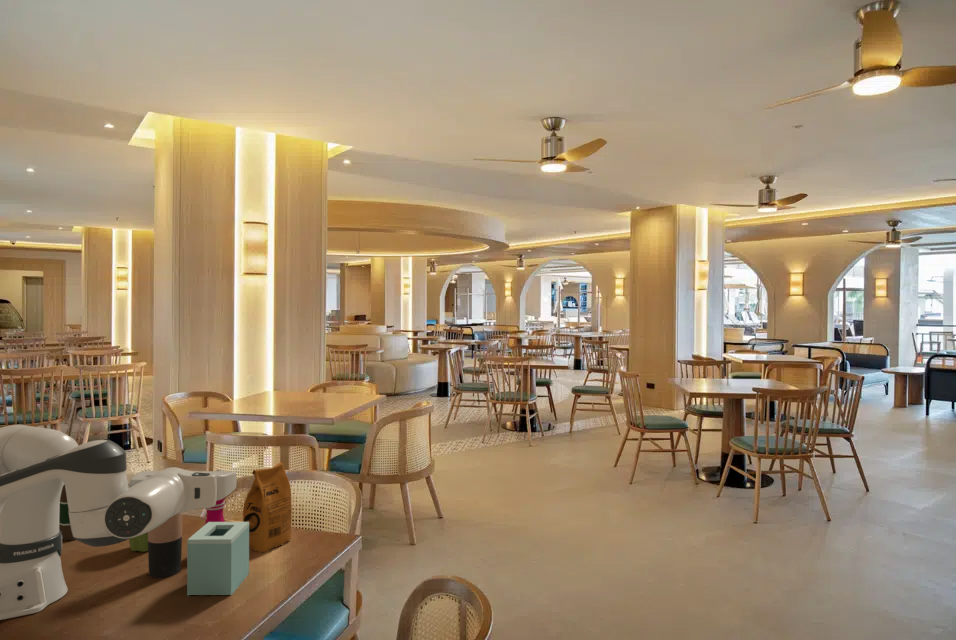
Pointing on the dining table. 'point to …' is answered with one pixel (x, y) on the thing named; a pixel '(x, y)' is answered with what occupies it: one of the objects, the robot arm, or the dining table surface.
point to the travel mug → (165, 548)
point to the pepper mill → (216, 512)
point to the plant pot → (139, 543)
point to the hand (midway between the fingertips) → (199, 473)
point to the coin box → (217, 558)
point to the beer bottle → (64, 517)
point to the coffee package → (268, 509)
